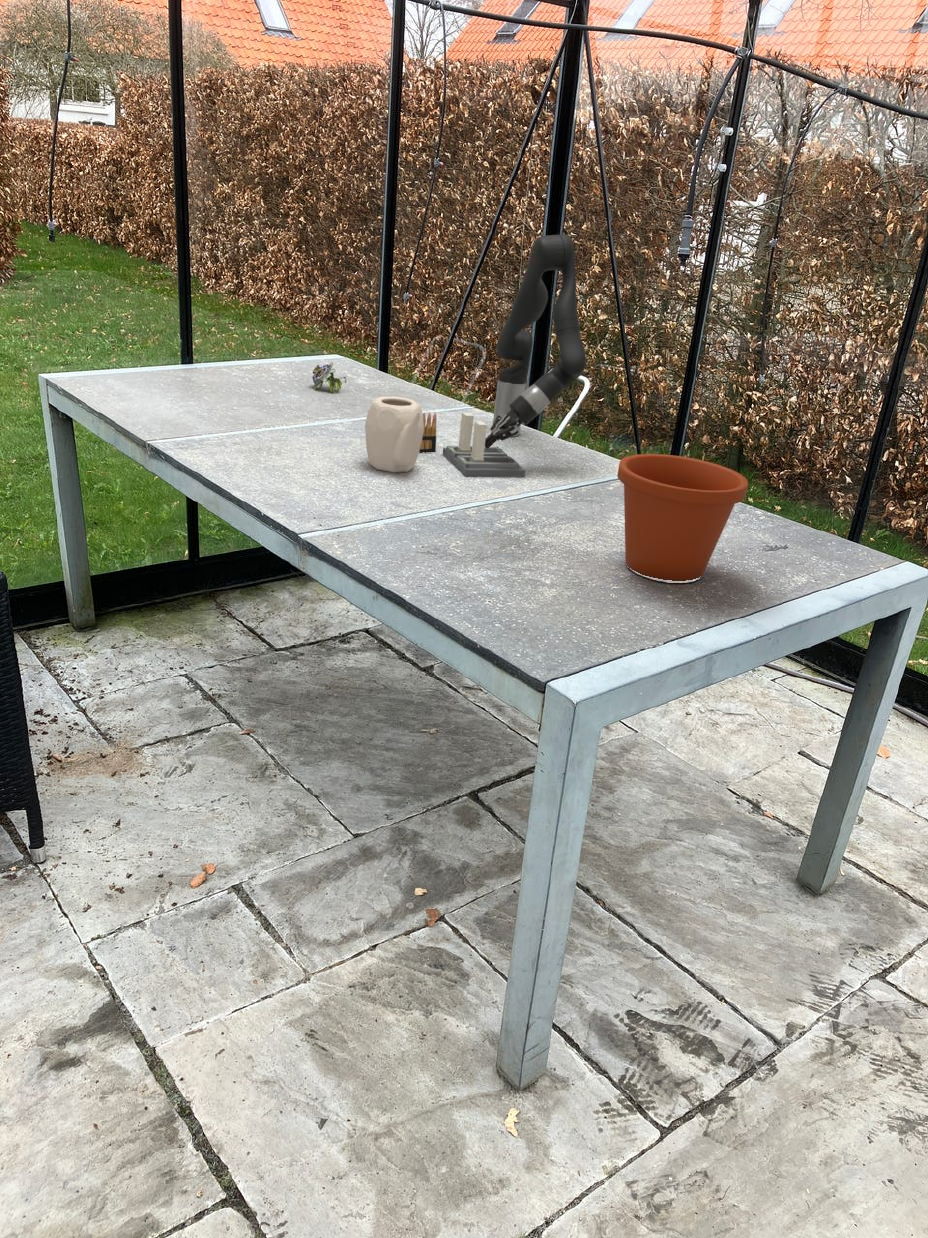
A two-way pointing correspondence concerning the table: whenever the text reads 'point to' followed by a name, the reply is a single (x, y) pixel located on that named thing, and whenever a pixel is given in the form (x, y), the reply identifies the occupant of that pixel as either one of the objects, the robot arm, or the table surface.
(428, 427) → the ammunition clip
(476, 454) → the tab
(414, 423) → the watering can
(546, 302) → the robot arm
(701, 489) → the flower pot
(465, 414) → the tab
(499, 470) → the switch board
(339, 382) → the passion flower
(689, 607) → the table surface
